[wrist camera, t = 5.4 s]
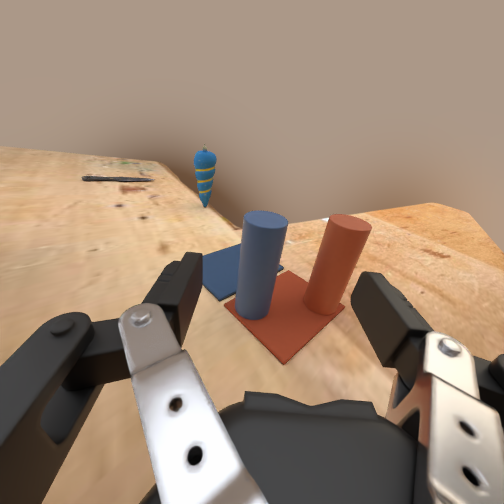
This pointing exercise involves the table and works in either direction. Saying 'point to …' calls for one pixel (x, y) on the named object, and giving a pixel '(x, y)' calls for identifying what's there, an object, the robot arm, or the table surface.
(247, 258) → the blue cylinder
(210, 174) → the ornament
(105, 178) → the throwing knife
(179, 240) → the table surface
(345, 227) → the terracotta skittle
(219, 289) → the blue mat
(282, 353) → the terracotta mat
